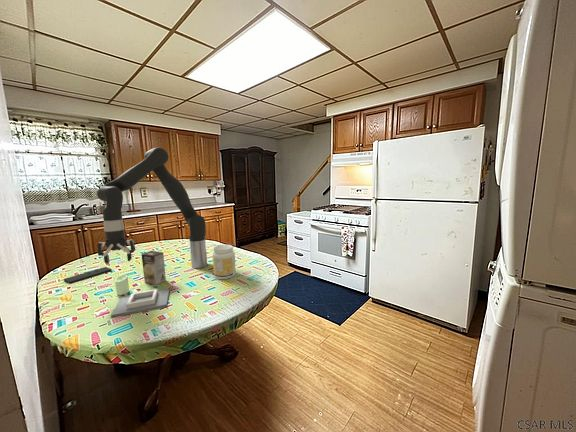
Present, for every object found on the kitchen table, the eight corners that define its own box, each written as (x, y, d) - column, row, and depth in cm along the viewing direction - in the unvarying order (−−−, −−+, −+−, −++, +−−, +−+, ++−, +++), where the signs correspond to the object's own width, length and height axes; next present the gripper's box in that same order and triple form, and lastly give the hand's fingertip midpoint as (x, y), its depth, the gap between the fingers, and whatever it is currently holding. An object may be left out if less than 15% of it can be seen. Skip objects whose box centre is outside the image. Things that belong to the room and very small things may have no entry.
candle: (123, 295, 111) (120, 279, 109) (114, 294, 112) (111, 278, 110) (131, 290, 116) (129, 275, 114) (123, 289, 116) (121, 274, 115)
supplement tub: (220, 270, 139) (218, 243, 137) (239, 271, 137) (237, 244, 134) (209, 279, 127) (207, 249, 125) (230, 280, 125) (228, 251, 122)
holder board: (169, 290, 115) (168, 284, 115) (166, 306, 101) (165, 300, 100) (121, 298, 108) (120, 292, 107) (110, 317, 93) (109, 310, 93)
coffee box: (143, 282, 124) (140, 254, 122) (154, 277, 130) (151, 250, 128) (156, 285, 121) (153, 255, 119) (166, 279, 127) (163, 252, 125)
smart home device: (112, 268, 141) (69, 281, 124) (112, 271, 141) (69, 284, 124) (105, 266, 145) (63, 278, 128) (105, 269, 145) (63, 281, 128)
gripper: (134, 226, 115) (137, 257, 117) (98, 228, 109) (103, 261, 112) (130, 229, 108) (134, 262, 110) (92, 232, 102) (97, 266, 105)
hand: (118, 261), depth 111 cm, fingers open, 8 cm apart
